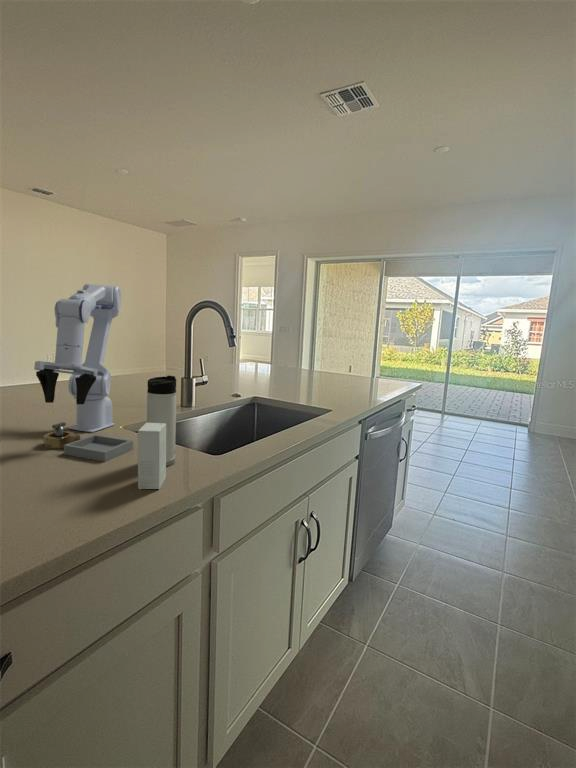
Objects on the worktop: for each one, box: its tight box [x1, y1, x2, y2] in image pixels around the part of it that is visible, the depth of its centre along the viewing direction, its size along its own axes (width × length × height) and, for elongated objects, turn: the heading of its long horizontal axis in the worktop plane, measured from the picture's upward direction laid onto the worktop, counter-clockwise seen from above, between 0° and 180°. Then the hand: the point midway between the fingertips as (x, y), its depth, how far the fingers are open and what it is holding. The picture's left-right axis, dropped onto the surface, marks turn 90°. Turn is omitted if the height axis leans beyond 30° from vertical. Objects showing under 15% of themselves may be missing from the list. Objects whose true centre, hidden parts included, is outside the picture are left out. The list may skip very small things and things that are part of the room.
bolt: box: [51, 421, 67, 437], centre depth 98 cm, size 3×2×5 cm, turn 165°
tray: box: [63, 433, 134, 463], centre depth 95 cm, size 10×11×2 cm
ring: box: [43, 430, 81, 450], centre depth 98 cm, size 6×9×3 cm
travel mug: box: [146, 375, 177, 467], centre depth 90 cm, size 6×7×20 cm
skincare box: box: [137, 422, 167, 490], centre depth 79 cm, size 6×4×12 cm
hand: (65, 403), depth 94 cm, fingers open, 7 cm apart
